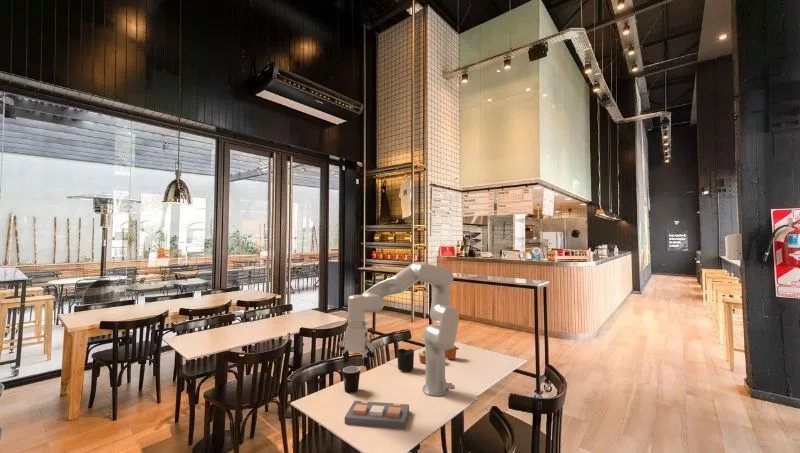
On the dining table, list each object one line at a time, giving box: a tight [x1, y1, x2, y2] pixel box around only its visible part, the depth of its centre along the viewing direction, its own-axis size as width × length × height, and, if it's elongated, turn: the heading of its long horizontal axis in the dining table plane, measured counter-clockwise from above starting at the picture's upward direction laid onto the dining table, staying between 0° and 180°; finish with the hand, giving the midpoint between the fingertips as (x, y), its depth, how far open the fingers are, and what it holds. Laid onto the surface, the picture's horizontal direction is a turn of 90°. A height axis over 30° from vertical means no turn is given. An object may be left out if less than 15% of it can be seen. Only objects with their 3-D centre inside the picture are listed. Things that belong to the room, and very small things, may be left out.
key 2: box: [387, 407, 401, 418], centre depth 138 cm, size 5×5×2 cm
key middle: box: [370, 405, 384, 417], centre depth 139 cm, size 5×5×2 cm
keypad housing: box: [344, 400, 410, 430], centre depth 140 cm, size 24×14×3 cm, turn 81°
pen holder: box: [396, 348, 415, 373], centre depth 193 cm, size 9×9×10 cm
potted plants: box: [418, 344, 460, 364], centre depth 208 cm, size 26×16×10 cm, turn 135°
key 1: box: [353, 404, 368, 415], centre depth 140 cm, size 5×5×2 cm
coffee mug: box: [342, 365, 361, 394], centre depth 165 cm, size 12×9×10 cm
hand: (355, 363), depth 148 cm, fingers open, 9 cm apart
